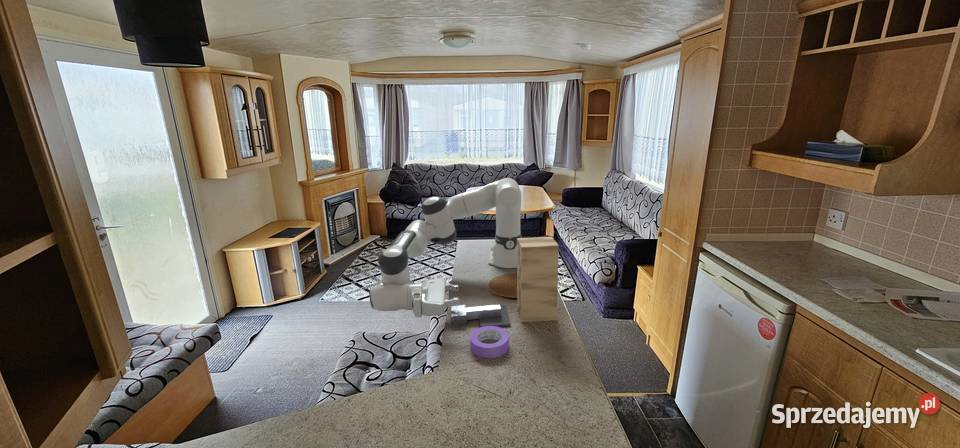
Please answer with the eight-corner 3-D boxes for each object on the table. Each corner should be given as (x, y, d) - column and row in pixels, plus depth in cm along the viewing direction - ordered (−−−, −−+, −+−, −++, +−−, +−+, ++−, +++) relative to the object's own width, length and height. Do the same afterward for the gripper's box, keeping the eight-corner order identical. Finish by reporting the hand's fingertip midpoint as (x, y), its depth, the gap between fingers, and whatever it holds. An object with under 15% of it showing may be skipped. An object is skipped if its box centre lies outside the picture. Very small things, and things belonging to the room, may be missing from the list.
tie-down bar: (499, 301, 138) (499, 310, 139) (451, 306, 137) (452, 315, 138) (501, 311, 131) (502, 320, 132) (451, 316, 130) (452, 325, 131)
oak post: (517, 309, 140) (517, 238, 133) (549, 307, 141) (551, 236, 133) (521, 322, 132) (521, 247, 124) (556, 320, 133) (558, 245, 125)
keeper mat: (478, 308, 142) (478, 306, 141) (505, 307, 142) (505, 305, 142) (480, 328, 129) (480, 325, 129) (510, 326, 130) (510, 324, 129)
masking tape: (480, 363, 112) (479, 351, 111) (464, 342, 122) (464, 331, 121) (515, 351, 116) (515, 340, 115) (497, 332, 127) (497, 322, 126)
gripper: (421, 290, 142) (458, 289, 143) (415, 320, 123) (459, 318, 123) (419, 274, 140) (458, 273, 141) (414, 302, 121) (458, 300, 121)
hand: (459, 294), depth 132 cm, fingers open, 8 cm apart
